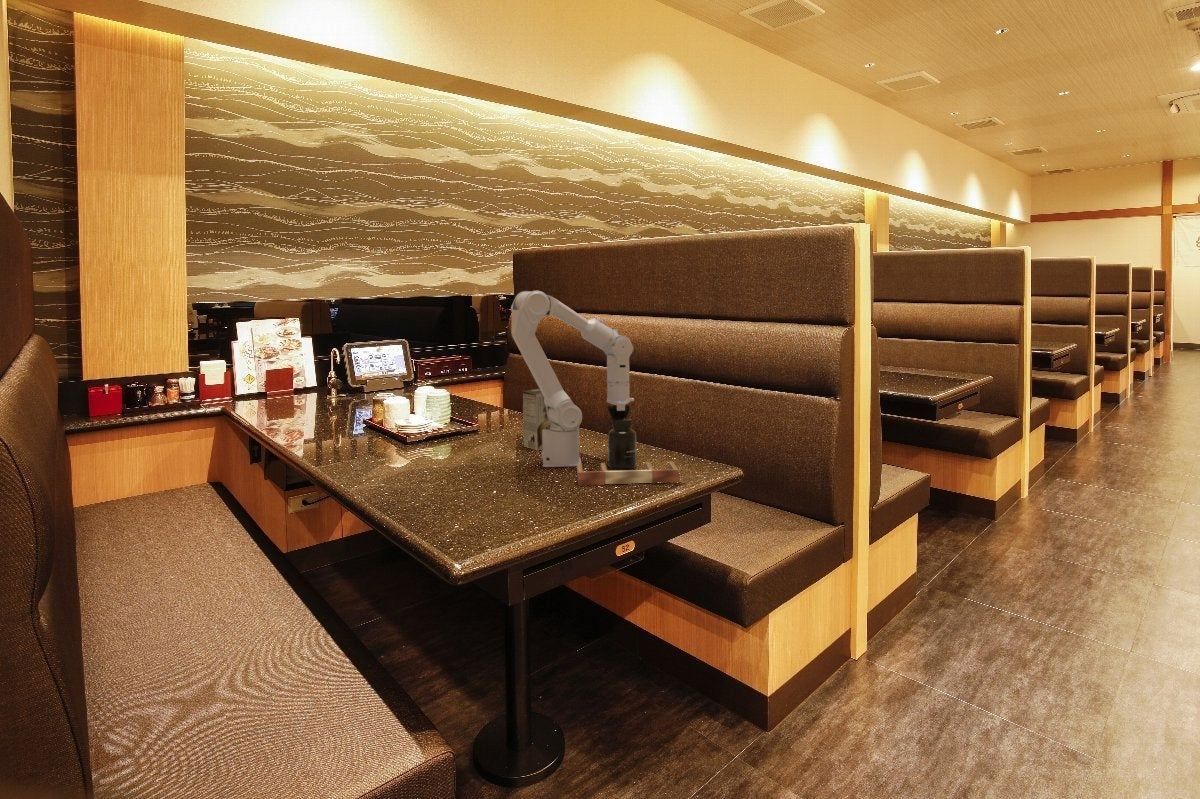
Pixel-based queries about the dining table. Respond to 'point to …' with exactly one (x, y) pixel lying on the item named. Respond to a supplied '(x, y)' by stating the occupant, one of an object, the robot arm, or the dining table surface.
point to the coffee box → (534, 418)
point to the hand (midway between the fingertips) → (618, 433)
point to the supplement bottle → (622, 444)
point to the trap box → (627, 475)
